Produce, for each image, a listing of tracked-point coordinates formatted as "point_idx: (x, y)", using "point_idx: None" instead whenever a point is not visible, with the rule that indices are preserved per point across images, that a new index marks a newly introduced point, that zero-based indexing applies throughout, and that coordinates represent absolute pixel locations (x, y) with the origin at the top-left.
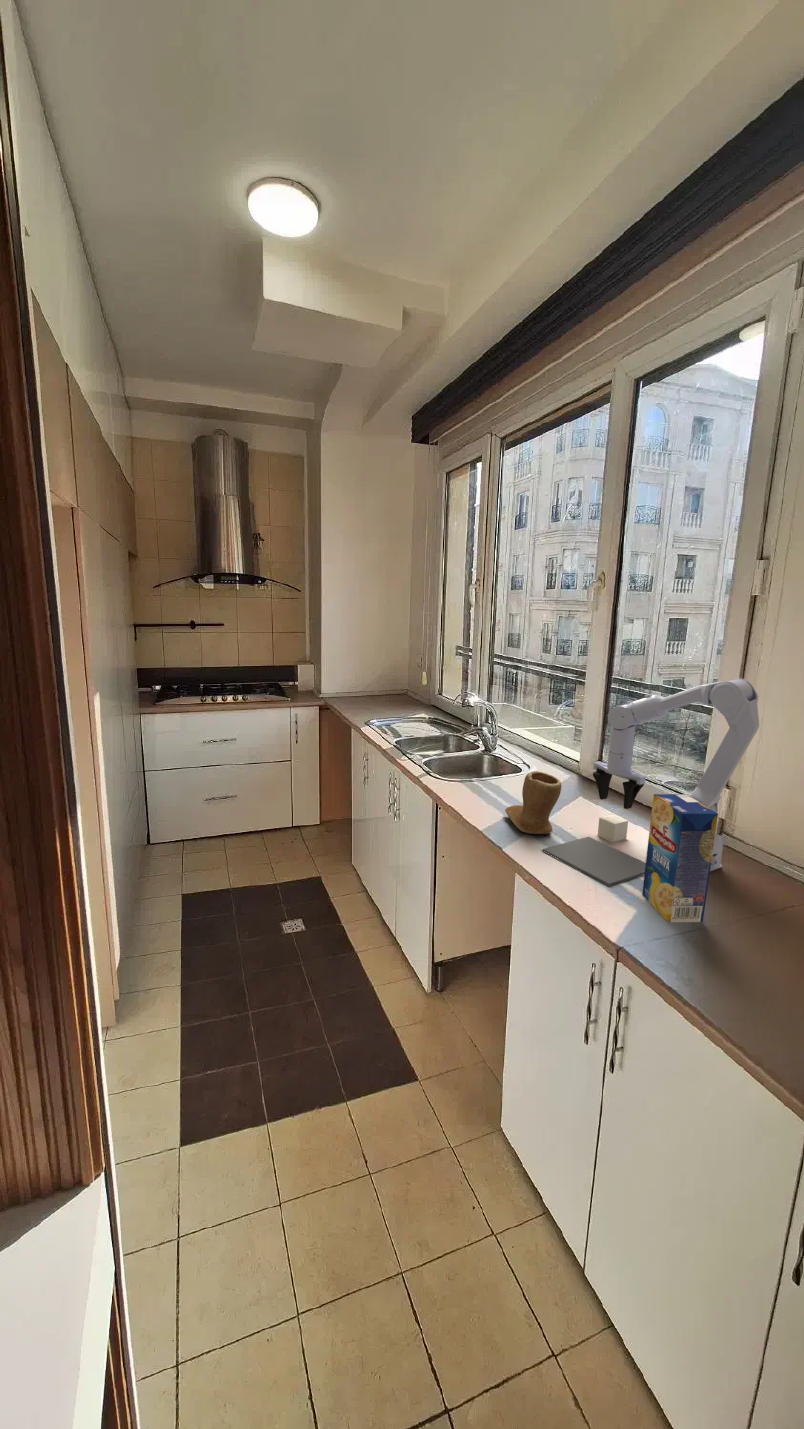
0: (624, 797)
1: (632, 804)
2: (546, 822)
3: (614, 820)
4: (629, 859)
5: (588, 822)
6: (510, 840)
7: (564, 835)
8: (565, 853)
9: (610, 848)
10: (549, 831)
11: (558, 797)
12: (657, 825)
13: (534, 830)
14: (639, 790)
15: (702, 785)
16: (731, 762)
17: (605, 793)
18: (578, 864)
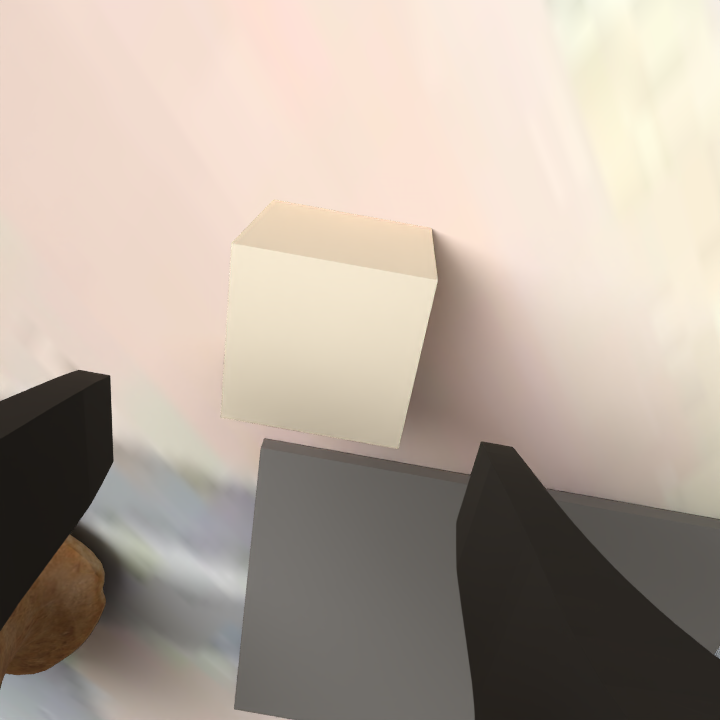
0: (475, 680)
1: (530, 470)
2: (36, 602)
3: (346, 380)
4: (613, 552)
5: (38, 159)
6: (71, 699)
7: (148, 495)
8: (332, 687)
9: (458, 502)
10: (102, 584)
11: None
12: None
13: (69, 650)
14: (712, 666)
15: None
16: None
17: (68, 450)
18: None
